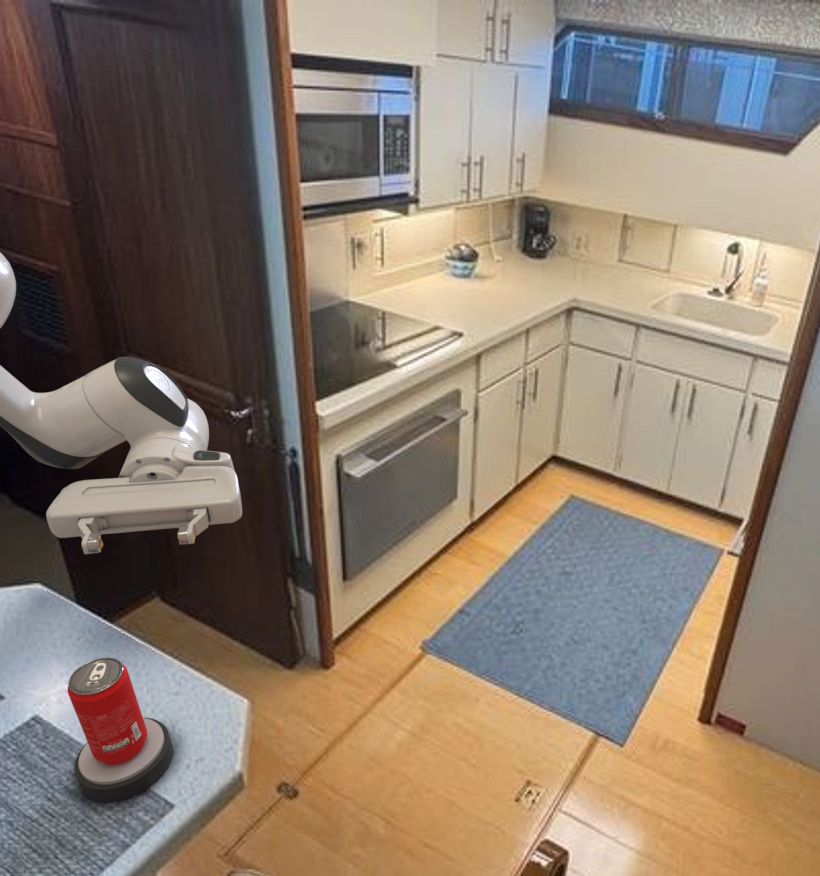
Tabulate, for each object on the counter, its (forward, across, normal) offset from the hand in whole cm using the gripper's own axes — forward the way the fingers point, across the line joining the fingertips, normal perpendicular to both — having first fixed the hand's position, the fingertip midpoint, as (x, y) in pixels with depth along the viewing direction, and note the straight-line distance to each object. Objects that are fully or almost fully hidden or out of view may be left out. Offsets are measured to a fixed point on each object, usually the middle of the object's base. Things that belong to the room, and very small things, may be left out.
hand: (138, 544), depth 80 cm
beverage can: (+13, -2, +18) cm, 23 cm away
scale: (+13, -2, +21) cm, 25 cm away
